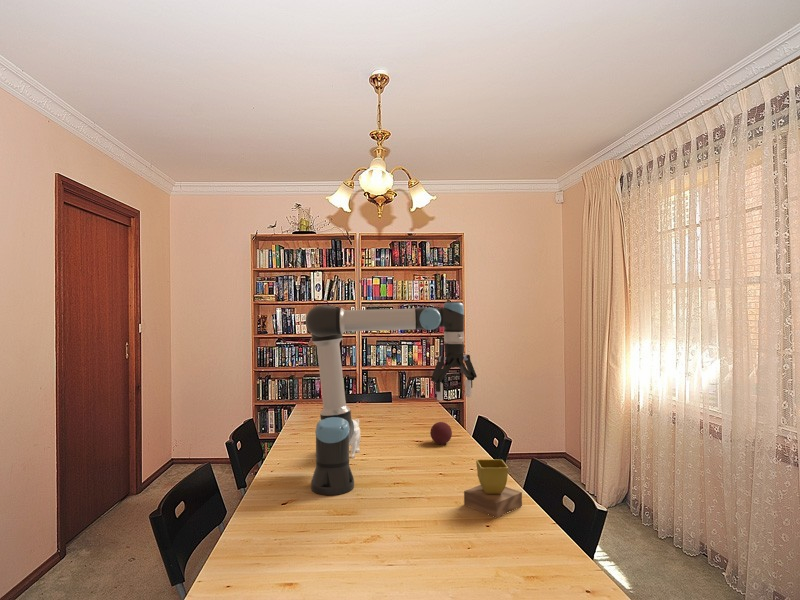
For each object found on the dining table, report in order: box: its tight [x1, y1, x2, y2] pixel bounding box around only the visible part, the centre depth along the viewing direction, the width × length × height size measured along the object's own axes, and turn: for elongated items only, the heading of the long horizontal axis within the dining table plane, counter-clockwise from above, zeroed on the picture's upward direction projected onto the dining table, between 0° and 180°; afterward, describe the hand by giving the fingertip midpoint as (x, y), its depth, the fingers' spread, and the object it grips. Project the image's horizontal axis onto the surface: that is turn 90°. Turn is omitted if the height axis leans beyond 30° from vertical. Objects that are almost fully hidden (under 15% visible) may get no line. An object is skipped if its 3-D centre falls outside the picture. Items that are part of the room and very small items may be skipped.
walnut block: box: [463, 484, 523, 519], centre depth 160 cm, size 13×13×5 cm
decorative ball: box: [429, 421, 453, 445], centre depth 230 cm, size 10×10×10 cm
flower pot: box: [475, 458, 509, 494], centre depth 160 cm, size 9×9×9 cm
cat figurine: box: [349, 418, 362, 459], centre depth 215 cm, size 25×10×17 cm, turn 12°
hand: (454, 398), depth 190 cm, fingers open, 13 cm apart
